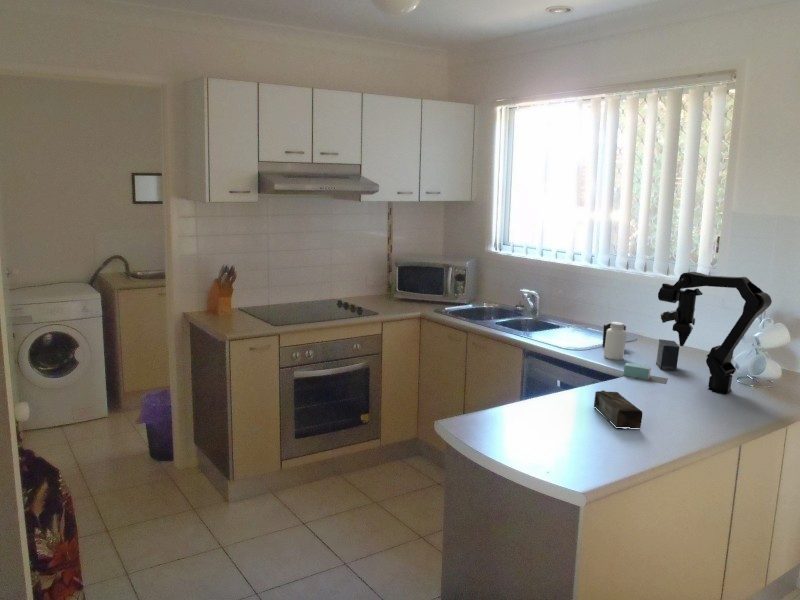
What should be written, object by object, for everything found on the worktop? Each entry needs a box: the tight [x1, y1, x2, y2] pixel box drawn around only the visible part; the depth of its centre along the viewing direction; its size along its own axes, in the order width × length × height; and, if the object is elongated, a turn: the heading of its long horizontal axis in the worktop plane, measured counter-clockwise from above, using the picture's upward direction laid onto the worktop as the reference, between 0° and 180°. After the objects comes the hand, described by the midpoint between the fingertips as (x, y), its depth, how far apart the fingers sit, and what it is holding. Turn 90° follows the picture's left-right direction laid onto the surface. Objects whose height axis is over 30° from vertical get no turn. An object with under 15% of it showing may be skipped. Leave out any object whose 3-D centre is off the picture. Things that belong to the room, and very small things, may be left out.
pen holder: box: [602, 322, 627, 348], centre depth 295 cm, size 9×9×10 cm
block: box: [623, 362, 652, 379], centre depth 252 cm, size 4×4×9 cm
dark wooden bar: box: [593, 389, 643, 429], centre depth 208 cm, size 8×19×7 cm, turn 5°
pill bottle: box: [603, 321, 627, 361], centre depth 277 cm, size 8×8×15 cm
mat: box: [634, 374, 669, 385], centre depth 250 cm, size 11×8×1 cm
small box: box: [655, 338, 680, 372], centre depth 266 cm, size 11×6×10 cm, turn 168°
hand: (681, 346), depth 250 cm, fingers closed
